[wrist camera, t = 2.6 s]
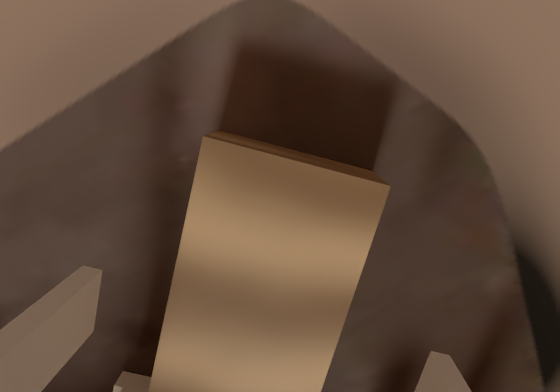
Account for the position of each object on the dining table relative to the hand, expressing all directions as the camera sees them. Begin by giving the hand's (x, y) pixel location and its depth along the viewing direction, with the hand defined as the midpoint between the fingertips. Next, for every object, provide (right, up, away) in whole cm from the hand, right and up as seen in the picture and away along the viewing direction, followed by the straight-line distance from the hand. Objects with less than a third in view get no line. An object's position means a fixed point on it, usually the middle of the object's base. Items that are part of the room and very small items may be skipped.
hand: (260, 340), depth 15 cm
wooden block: (0, +1, +6) cm, 7 cm away
